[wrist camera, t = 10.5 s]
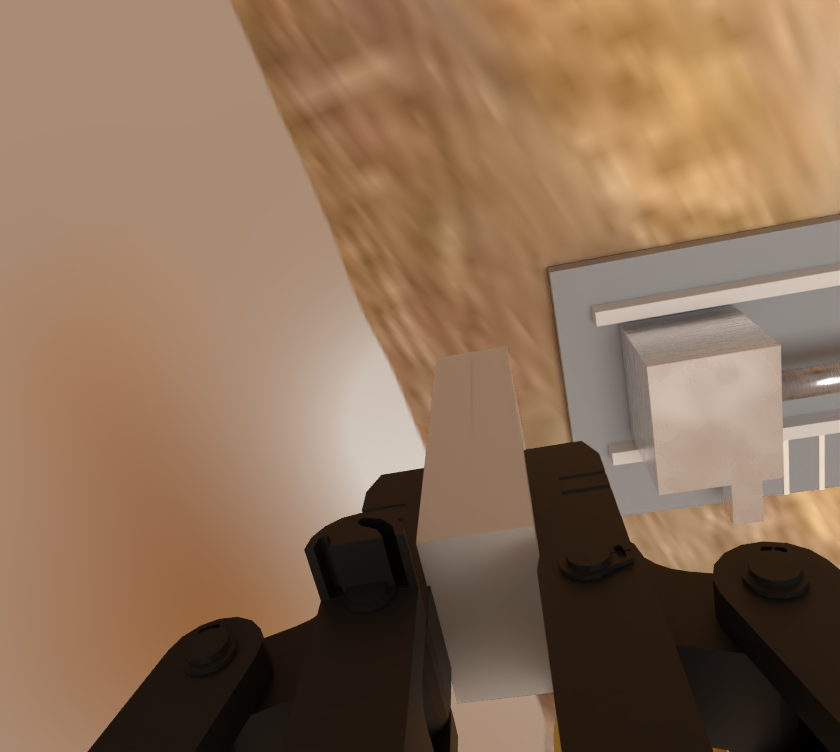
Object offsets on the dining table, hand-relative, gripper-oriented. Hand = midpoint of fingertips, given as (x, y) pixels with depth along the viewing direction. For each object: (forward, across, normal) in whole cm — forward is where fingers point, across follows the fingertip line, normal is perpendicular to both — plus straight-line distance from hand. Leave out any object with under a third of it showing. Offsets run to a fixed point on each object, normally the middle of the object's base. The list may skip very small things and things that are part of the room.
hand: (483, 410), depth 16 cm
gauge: (+25, +14, -13) cm, 31 cm away
